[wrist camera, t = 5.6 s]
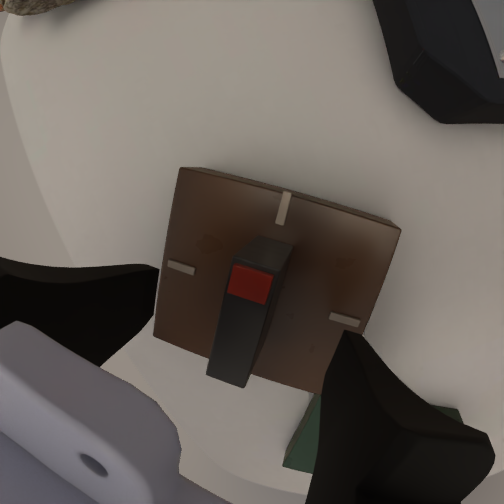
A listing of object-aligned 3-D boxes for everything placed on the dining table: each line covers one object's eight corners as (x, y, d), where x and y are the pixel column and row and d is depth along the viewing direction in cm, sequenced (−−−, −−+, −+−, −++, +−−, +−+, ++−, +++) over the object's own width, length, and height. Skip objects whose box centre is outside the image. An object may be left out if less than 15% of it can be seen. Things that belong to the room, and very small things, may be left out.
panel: (172, 319, 19) (150, 339, 16) (200, 165, 16) (177, 164, 14) (332, 373, 17) (331, 402, 15) (392, 218, 15) (404, 227, 12)
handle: (263, 344, 15) (242, 393, 11) (231, 333, 15) (202, 378, 12) (293, 245, 13) (279, 272, 10) (257, 234, 14) (230, 257, 10)
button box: (286, 449, 19) (276, 486, 16) (321, 378, 17) (317, 418, 14) (407, 473, 18) (411, 507, 14) (458, 409, 16) (472, 444, 12)
